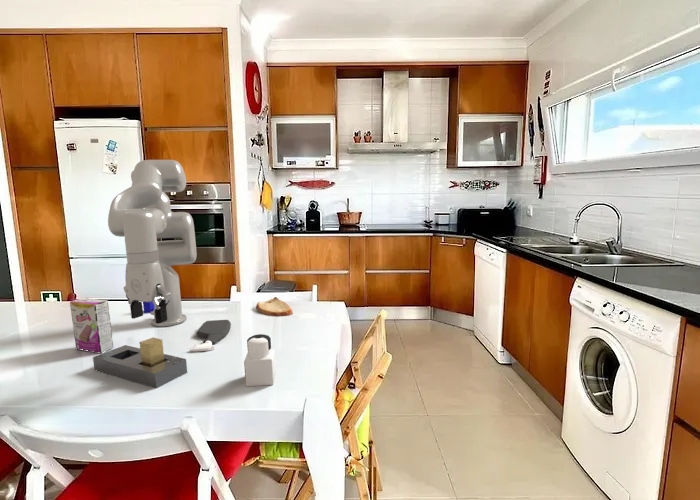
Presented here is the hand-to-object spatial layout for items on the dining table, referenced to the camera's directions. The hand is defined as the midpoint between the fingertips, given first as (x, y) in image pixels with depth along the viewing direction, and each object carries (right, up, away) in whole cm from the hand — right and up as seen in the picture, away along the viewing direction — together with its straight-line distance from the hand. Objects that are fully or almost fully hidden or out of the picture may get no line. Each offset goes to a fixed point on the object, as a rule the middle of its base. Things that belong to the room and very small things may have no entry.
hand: (149, 319), depth 113 cm
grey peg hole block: (-5, -15, +5) cm, 17 cm away
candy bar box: (-28, -14, +22) cm, 39 cm away
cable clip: (-31, -7, +67) cm, 74 cm away
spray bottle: (+7, -12, +30) cm, 33 cm away
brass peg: (0, -16, +2) cm, 16 cm away
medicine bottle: (+31, -16, -2) cm, 35 cm away
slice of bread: (+23, -7, +62) cm, 66 cm away
